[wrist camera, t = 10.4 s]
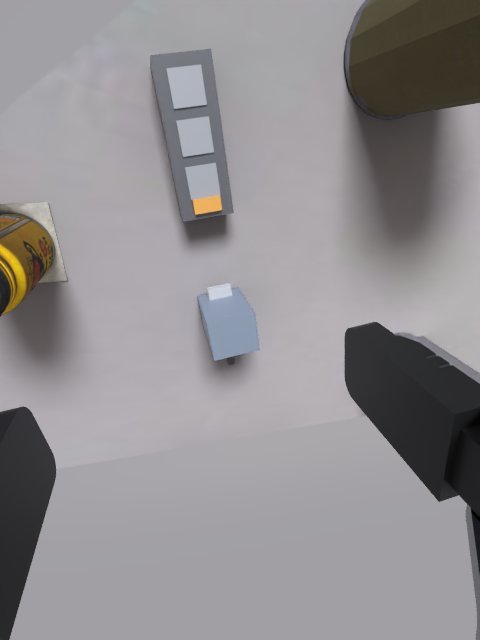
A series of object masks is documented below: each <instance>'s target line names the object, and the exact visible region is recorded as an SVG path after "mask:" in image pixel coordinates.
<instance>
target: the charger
mask: <svg viewBox="0 0 480 640" xmlns="http://www.w3.org/2000/svg"><path fill="white" fill-rule="evenodd" d="M207 291H208V294H205V295H201V296H197V297H198V301H199V306H200V311H201V316H202V321H203V326H204V330H205V333H206V336H207V339H208V343H209V346H210V349H211V352H212V355H213V358H214V361H216V360H220V359H225V358H227V363H228V364H229V365H233V364H234V363H235V358H234V356H237V355H241V354H245V353H249V352H253V351H257V350H260V346H259V338H258V330H257V323H256V315H255V312H254V310H253V309H252V307H251V306H250V304H249V303H248V301H247V300H246V298H245V297H244V295H243V294H242V293H241V291H240V290H239V288H233V289H231V285H230V283H227V284H222V285H218V286H213V287H208V288H207Z"/></svg>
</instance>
